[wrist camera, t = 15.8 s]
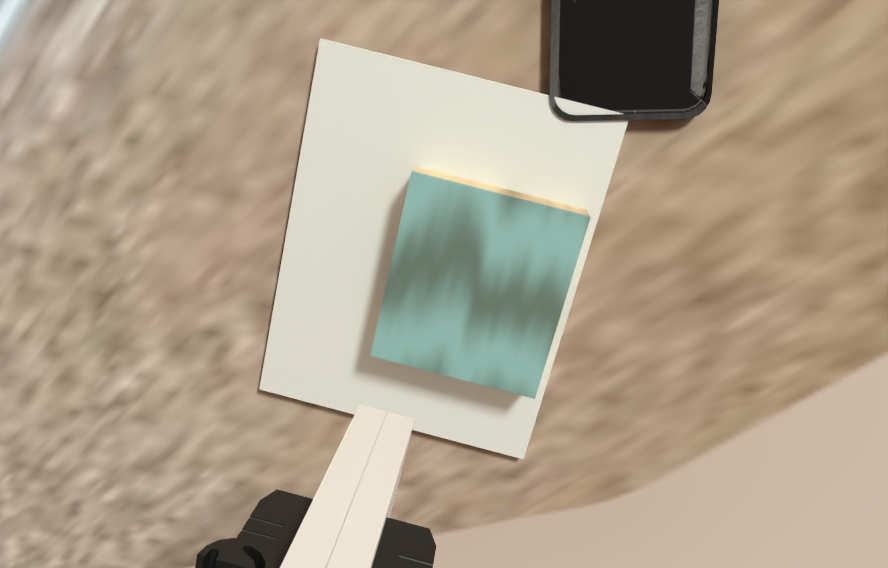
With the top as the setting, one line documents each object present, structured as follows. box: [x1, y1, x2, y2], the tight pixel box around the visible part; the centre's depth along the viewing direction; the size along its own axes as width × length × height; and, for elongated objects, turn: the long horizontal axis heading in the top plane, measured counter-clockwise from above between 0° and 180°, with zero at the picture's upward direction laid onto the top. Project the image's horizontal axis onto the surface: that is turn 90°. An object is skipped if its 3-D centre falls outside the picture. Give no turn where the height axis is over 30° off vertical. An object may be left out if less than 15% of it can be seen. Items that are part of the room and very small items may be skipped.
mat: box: [259, 38, 629, 459], centre depth 37 cm, size 16×20×1 cm
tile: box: [370, 167, 591, 399], centre depth 36 cm, size 10×2×9 cm
